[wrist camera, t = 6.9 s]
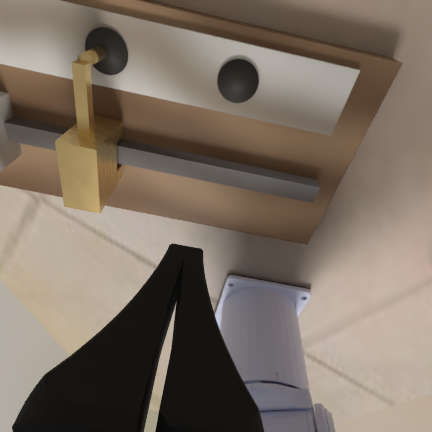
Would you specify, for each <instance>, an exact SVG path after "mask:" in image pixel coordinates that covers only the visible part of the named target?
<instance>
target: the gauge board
mask: <svg viewBox="0 0 432 432" xmlns="http://www.w3.org/2000/svg"><path fill="white" fill-rule="evenodd" d="M97 46H100V47H102V48H104V50H105V52H106V57H105V58H104V59H103V60H101V61H99V62H97V63H95V64H94V65H92V66H91V81H92V98H93V115H95V116H100V117H105V118H109V119H114V120H119V121H123V136H122V137H121V138H120V139H119V141H118V142H117V163H119V164H123V176H122V177H121V179H120V180H119V182H118V184H117V187H116V188H115V190H114V191H113V193H112V195H111V196H110V198H109V200H108V201H107V203H106V204H105V205H106V206H111V207H117V208H122V209H127V210H132V211H137V212H142V213H147V214H153V215H158V216H163V217H168V218H173V219H178V220H183V221H189V222H194V223H199V224H204V225H209V226H214V227H219V228H225V229H230V230H235V231H240V232H245V233H250V234H256V235H261V236H266V237H271V238H276V239H281V240H286V241H292V242H297V243H302V244H308V242H309V240H310V238H311V236H312V235H313V233H314V231H315V229H316V227H317V225H318V223H319V221H320V219H321V217H322V216H323V214H324V212H325V210H326V208H327V206H328V204H329V202H330V200H331V198H332V196H333V195H334V193H335V191H336V189H337V187H338V185H339V183H340V181H341V179H342V177H343V176H344V174H345V172H346V170H347V168H348V166H349V164H350V162H351V160H352V158H353V156H354V155H355V153H356V151H357V149H358V147H359V145H360V143H361V141H362V139H363V137H364V136H365V134H366V132H367V130H368V128H369V126H370V124H371V122H372V120H373V118H374V116H375V115H376V113H377V111H378V109H379V107H380V105H381V103H382V101H383V99H384V97H385V96H386V94H387V92H388V90H389V88H390V86H391V84H392V82H393V80H394V78H395V76H396V75H397V73H398V71H399V69H400V67H401V65H402V63H401V62H399V61H397V60H395V59H393V58H388V57H384V56H380V55H376V54H372V53H367V52H363V51H359V50H355V49H351V48H346V47H342V46H338V45H334V44H330V43H325V42H321V41H317V40H313V39H309V38H304V37H300V36H296V35H292V34H288V33H283V32H279V31H275V30H271V29H267V28H262V27H258V26H254V25H250V24H246V23H241V22H237V21H233V20H229V19H224V18H220V17H216V16H212V15H208V14H203V13H199V12H195V11H191V10H187V9H182V8H178V7H174V6H170V5H166V4H161V3H157V2H153V1H149V0H0V185H3V186H8V187H14V188H19V189H24V190H29V191H34V192H39V193H44V194H50V195H55V196H60V197H63V193H62V187H61V180H60V173H59V166H58V159H57V152H56V146H55V141H56V140H57V139H58V138H59V137H61V136H62V135H63V134H64V133H65V132H67V131H68V130H69V129H70V128H71V127H72V126H74V125H75V124H76V123H77V117H76V106H75V96H74V85H73V74H72V64H71V62H73V61H75V60H77V57H78V55H79V54H81V53H83V52H86V51H88V50H90V49H92V48H95V47H97Z"/></svg>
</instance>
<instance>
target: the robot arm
mask: <svg viewBox="0 0 432 432" xmlns="http://www.w3.org/2000/svg"><path fill="white" fill-rule="evenodd" d="M230 283H232V284H230ZM310 297H311V291H310V290H309V289H306V288H300V287H295V286H290V285H284V284H279V283H273V282H268V281H263V280H257V279H252V278H246V277H241V276H236V275H229V276H228V277H227V278H226V281H225V284H224V288H223V291H222V294H221V297H220V300H219V303H218V306H217V309H216V312H215V315H214V311H213V308H212V304H211V301H210V297H209V293H208V288H207V284H206V279H205V273H204V265H203V251H202V249H199V248H194V247H188V246H183V245H178V244H171V245H169V248H168V250H167V252H166V254H165V255H164V257H163V259H162V260H161V262H160V264H159V265H158V267H157V268H156V270H155V271H154V272H153V274H152V275H151V276H150V278H149V279H148V281H147V282H146V283H145V284H144V286H143V287H142V288H141V289H140V290H139V292H138V293H137V294H136V295H135V296H134V298H133V299H132V300H131V301H130V302H129V303H128V304H127V305H126V306H125V308H124V309H123V310H122V311H121V312H120V313H119V314H118V315H117V316H116V317H115V318H114V319H113V320H112V321H110V322H109V323H108V324H107V325H106V326H105V327H104V328H103V329H102V330H101V331H100V332H99V333H98V334H96V335H95V336H94V337H93V338H92V339H90V340H89V341H88V342H87V343H86V344H84V345H83V346H82V347H81V348H80V349H78V350H77V351H76V352H75V353H73V354H72V355H71V356H69V358H67V359H65V360H64V361H63V362H61V363H60V364H59V365H57V366H56V367H55V368H53V369H52V370H50V371H49V372H48V373H46V374H45V375H44V376H43V377H42V379H41V380H40V381H39V383H38V384H37V385H36V387H35V388H34V389H33V391H32V392H31V394H30V395H29V397H28V398H27V400H26V401H25V404H24V405H23V407H22V409H21V411H20V413H19V415H18V417H17V419H16V421H15V423H14V425H13V427H12V429H13V432H144V428H145V423H146V418H147V414H148V409H149V404H150V399H151V395H152V390H153V385H154V381H155V376H156V371H157V367H158V362H159V358H160V354H161V350H162V347H163V343H164V340H165V337H166V334H167V330H168V327H169V324H170V321H171V317H172V314H173V311H174V308H175V304H176V312H175V321H174V330H173V340H172V349H171V354H170V359H169V364H168V369H167V375H166V380H165V385H164V390H163V395H162V400H161V405H160V410H159V415H158V421H157V426H156V432H335V428H334V423H333V418H332V414H331V412H329V411H328V410H327V409H326V408H324V405H323V404H315V405H314V406H315V410H314V406H313V403H312V399H311V395H310V391H309V385H308V379H307V372H306V366H305V360H304V354H303V348H302V342H301V335H300V329H299V323H298V316H299V314H300V313H301V311H302V309H303V308H304V306H305V305H306V303H307V301H308V300H309V298H310ZM176 301H177V303H176Z"/></svg>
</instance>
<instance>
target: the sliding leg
mask: <svg viewBox="0 0 432 432" xmlns="http://www.w3.org/2000/svg"><path fill="white" fill-rule="evenodd" d="M105 57H106V52H105V50H104V48H102V47H100V46H97V47H95V48H92V49H90V50H88V51H86V52H83V53H81V54H79V55H78V57H77V60H75V61H73V62H71V64H72V74H73V85H74V96H75V106H76V117H77V123H76V124H75V125H74V126H72V127H71V128H70V129H69V130H68V131H67V132H65V133H64V134H63V135H62V136H61V137H59V138H58V139H57V140H56V141H55V146H56V152H57V159H58V166H59V173H60V180H61V187H62V193H63V200H64V207H69V208H75V209H80V210H85V211H90V212H95V213H101V211H102V209H103V208H104V206H105V204H106V203H107V201H108V200H109V198H110V196H111V195H112V193H113V191H114V190H115V188H116V187H117V184H118V182H119V180H120V179H121V177H122V176H123V164H119V163H117V142H118V141H119V139H120V138H121V137H122V136H123V121H119V120H114V119H109V118H105V117H100V116H95V115H93V98H92V81H91V66H92V65H94V64H95V63H97V62H99V61H101V60H103V59H104V58H105Z"/></svg>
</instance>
